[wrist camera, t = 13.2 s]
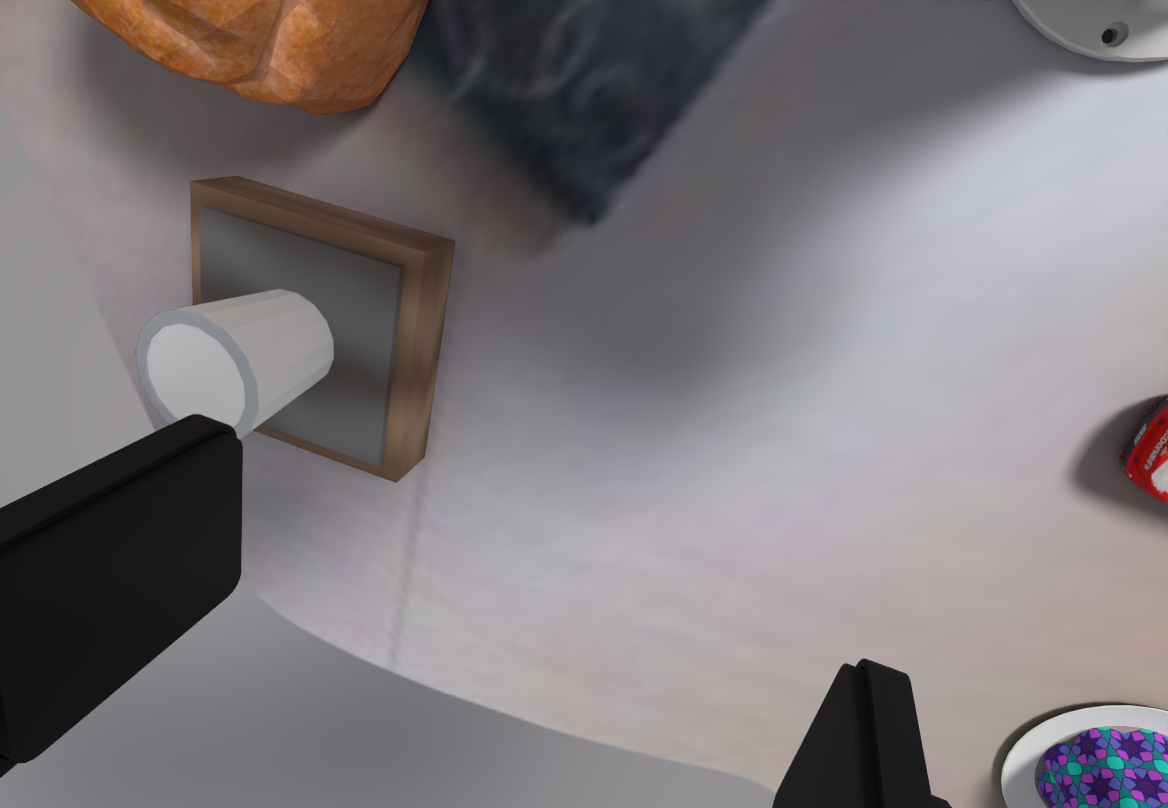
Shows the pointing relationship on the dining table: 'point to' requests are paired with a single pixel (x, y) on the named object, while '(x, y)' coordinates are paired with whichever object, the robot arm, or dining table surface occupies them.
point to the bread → (273, 45)
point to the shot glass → (234, 357)
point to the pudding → (1092, 761)
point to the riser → (335, 312)
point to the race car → (1149, 453)
